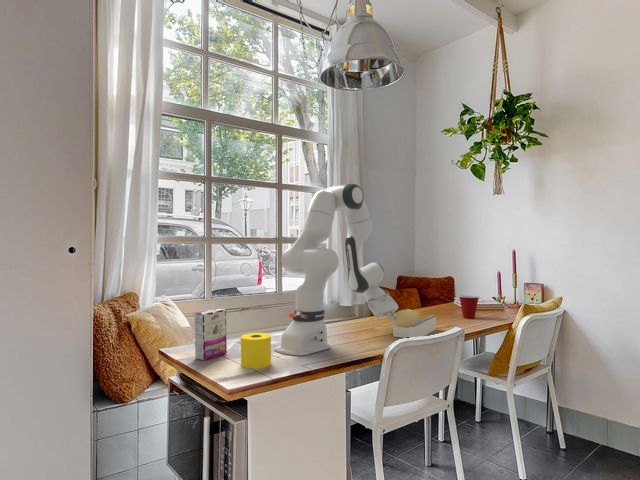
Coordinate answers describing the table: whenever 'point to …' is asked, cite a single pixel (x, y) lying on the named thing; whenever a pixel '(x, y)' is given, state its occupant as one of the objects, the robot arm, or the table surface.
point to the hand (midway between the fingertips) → (395, 320)
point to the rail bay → (416, 328)
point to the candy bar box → (210, 334)
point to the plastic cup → (468, 306)
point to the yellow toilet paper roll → (255, 350)
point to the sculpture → (407, 318)
